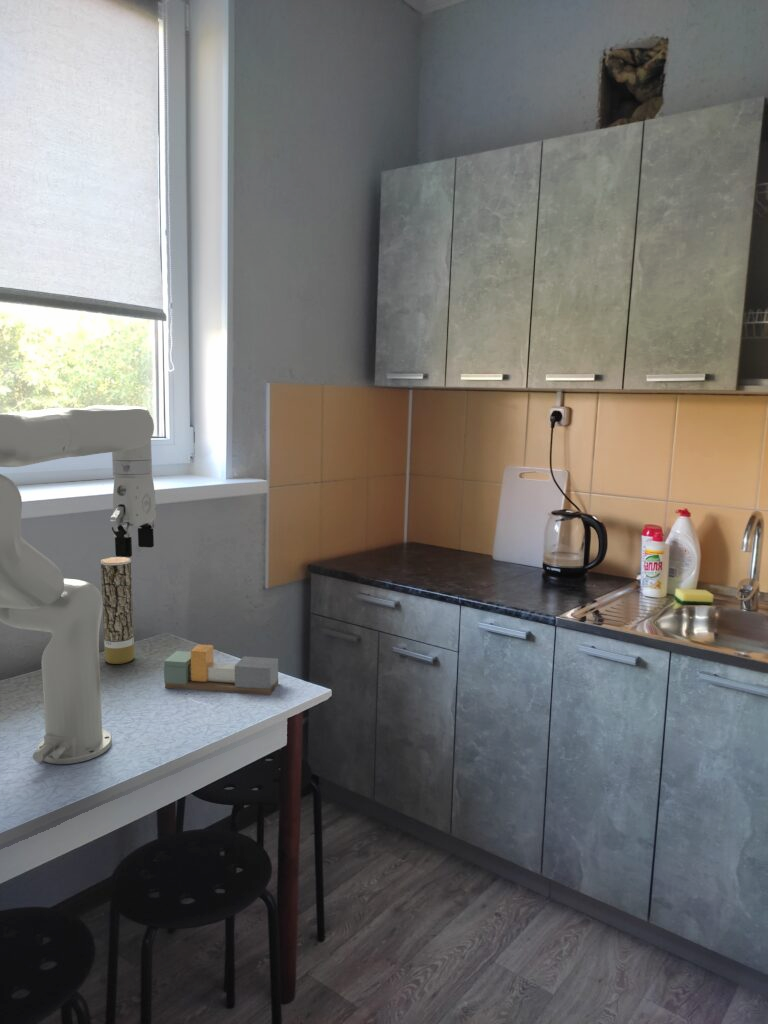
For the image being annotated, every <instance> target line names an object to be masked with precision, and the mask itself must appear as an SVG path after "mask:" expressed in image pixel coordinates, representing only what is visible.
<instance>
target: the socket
mask: <svg viewBox="0 0 768 1024" xmlns="http://www.w3.org/2000/svg"><path fill="white" fill-rule="evenodd" d="M163 661H164V666H163V672H164V673H163V675H164V684H165V683H174V684H187V683H188V665H190V664H191V651H181V650H176V651H174V652H173V653H172V654H171V655H170V656H168V657H167V658H166V659H165V660H163Z"/></svg>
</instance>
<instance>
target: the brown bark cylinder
mask: <svg viewBox="0 0 768 1024" xmlns="http://www.w3.org/2000/svg"><path fill="white" fill-rule="evenodd" d="M100 575H101V577H100V579H101V595H102V599H103V609H102V618H103V619H102V620H103V624H102V625H103V626H102V627H103V646H104V647H103V648H104V659H105V660H104V661H105V662H106V663H108V664H112V665H121V664H126V663H130V662H131V661H133V660H134V658H135V634H134V609H133V608H134V607H133V606H134V605H133V603H134V602H133V581H132V580H133V579H132V578H133V577H132V576H133V575H132V559H131V557H117V556H116V557H107V558H103V559H101V560H100Z"/></svg>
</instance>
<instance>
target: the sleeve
mask: <svg viewBox="0 0 768 1024" xmlns="http://www.w3.org/2000/svg"><path fill="white" fill-rule="evenodd" d="M235 664H236V665H235V687H242V688H256V689H271V688H272V687H273V685H274V684H275V683H276V681H277V680H278V681H279V658H273V657H262V656H259V657H257V656H245V655H244V656H242V658H240V660H238V662H237V663H235Z"/></svg>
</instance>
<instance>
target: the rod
mask: <svg viewBox="0 0 768 1024" xmlns="http://www.w3.org/2000/svg"><path fill="white" fill-rule="evenodd" d="M190 652H191V664H190V665H188V680H191V681H198V682H207V681H214V682H228V683H235V665H236V664H237V663H229V662H215V661H214V645H213V644H199V643H198V644H196V645H195V646H194V648H192V649H191V650H190Z"/></svg>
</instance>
